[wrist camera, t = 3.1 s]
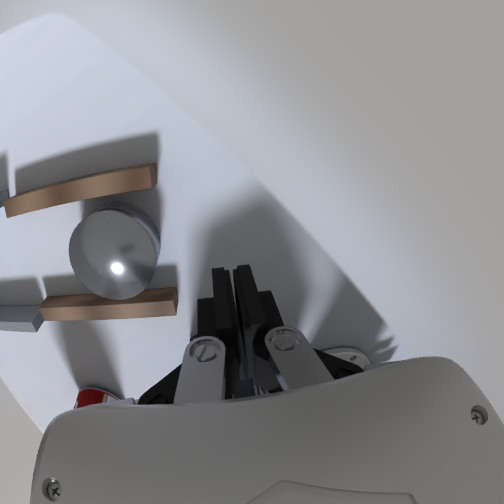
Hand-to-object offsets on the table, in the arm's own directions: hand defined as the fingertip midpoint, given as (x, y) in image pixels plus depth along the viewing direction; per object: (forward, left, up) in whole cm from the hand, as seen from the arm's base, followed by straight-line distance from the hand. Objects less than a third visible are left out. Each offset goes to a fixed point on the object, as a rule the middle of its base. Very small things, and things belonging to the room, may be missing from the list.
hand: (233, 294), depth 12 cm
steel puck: (+9, +1, -10) cm, 13 cm away
